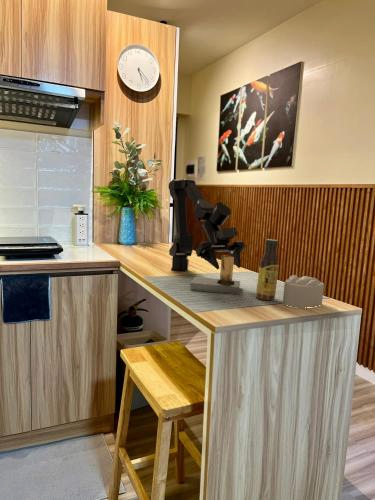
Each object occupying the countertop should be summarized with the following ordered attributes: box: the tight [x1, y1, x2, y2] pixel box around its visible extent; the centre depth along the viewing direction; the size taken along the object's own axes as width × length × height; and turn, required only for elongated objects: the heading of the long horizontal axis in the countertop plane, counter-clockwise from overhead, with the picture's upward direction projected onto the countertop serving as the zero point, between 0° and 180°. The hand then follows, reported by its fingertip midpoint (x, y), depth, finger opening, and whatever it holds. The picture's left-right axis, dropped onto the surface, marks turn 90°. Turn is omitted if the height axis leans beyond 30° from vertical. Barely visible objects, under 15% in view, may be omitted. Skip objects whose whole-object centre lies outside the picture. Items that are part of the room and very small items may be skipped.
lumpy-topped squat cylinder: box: [282, 274, 325, 309], centre depth 120 cm, size 10×13×9 cm
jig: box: [189, 276, 241, 295], centre depth 133 cm, size 17×10×2 cm, turn 80°
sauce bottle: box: [255, 238, 280, 301], centre depth 123 cm, size 6×6×20 cm
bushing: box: [219, 254, 235, 285], centre depth 132 cm, size 4×4×12 cm
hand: (229, 268), depth 131 cm, fingers open, 9 cm apart
